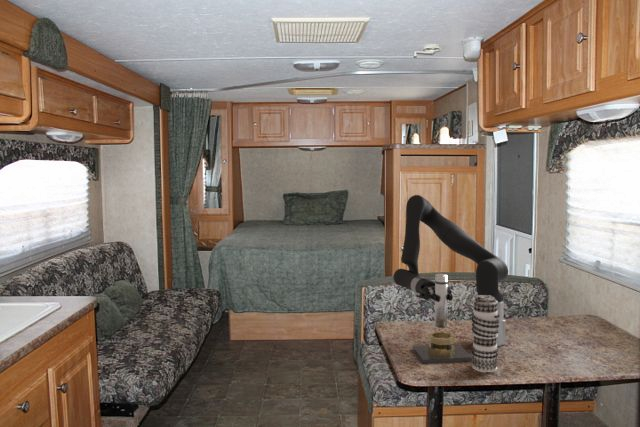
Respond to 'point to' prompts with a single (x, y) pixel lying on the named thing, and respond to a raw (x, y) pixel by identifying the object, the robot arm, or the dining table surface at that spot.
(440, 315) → the metal thermos flask
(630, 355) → the dining table surface
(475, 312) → the decorative candle
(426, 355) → the collar stand
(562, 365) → the dining table surface
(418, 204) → the robot arm
